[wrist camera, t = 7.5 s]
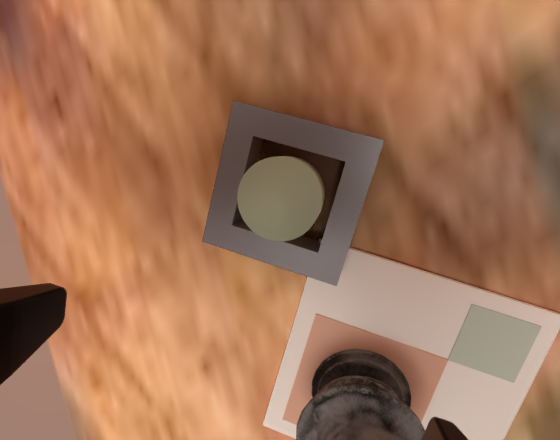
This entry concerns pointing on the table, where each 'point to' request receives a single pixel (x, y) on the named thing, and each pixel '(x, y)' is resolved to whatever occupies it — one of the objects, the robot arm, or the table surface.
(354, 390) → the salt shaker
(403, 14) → the table surface
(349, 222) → the button housing
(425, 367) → the sheet
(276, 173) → the button
